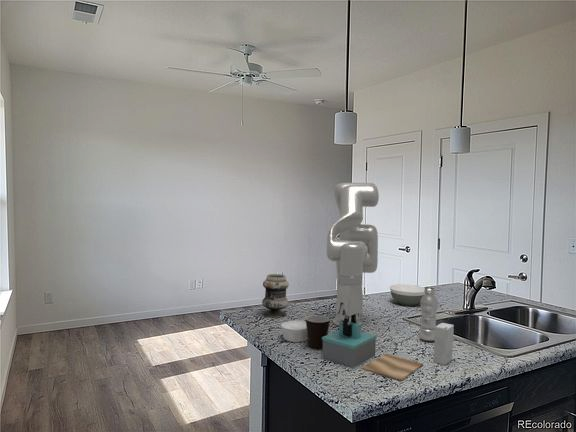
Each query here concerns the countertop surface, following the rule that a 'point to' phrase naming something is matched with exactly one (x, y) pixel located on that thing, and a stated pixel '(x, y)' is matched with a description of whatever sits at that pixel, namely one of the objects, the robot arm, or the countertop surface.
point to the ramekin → (294, 331)
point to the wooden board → (393, 367)
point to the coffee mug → (316, 330)
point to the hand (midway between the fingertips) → (349, 334)
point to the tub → (348, 353)
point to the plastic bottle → (428, 315)
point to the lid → (350, 342)
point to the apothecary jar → (275, 295)
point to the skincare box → (443, 343)
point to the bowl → (407, 294)
